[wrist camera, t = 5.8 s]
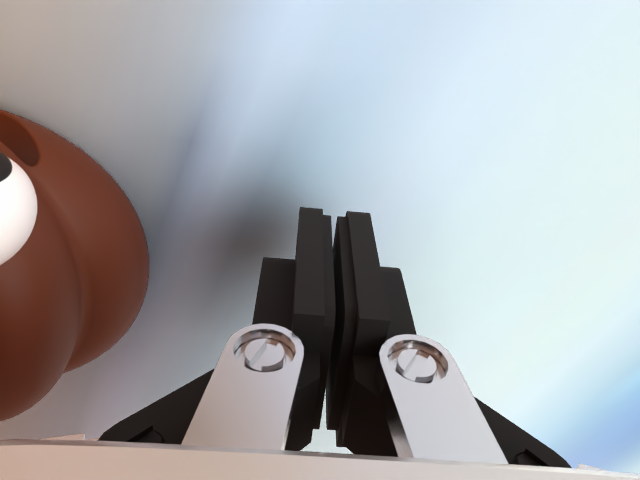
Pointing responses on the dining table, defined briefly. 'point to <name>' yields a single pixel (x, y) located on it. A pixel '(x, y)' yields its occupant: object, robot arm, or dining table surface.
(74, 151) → the poop emoji
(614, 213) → the dining table surface
